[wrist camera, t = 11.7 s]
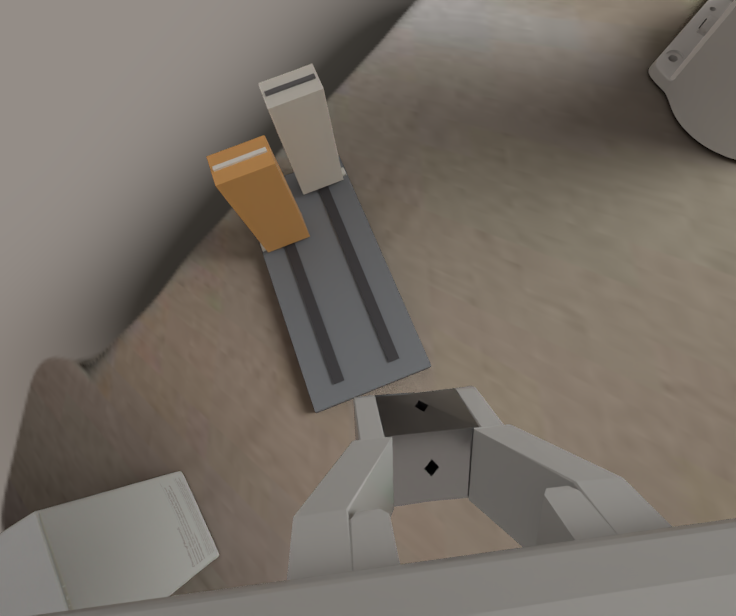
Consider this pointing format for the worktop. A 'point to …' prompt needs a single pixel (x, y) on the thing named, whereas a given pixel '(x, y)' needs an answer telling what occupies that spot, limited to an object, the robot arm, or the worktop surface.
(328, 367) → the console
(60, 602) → the supplement box
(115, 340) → the worktop surface
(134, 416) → the worktop surface
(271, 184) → the fader orange
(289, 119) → the fader white
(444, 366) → the worktop surface
